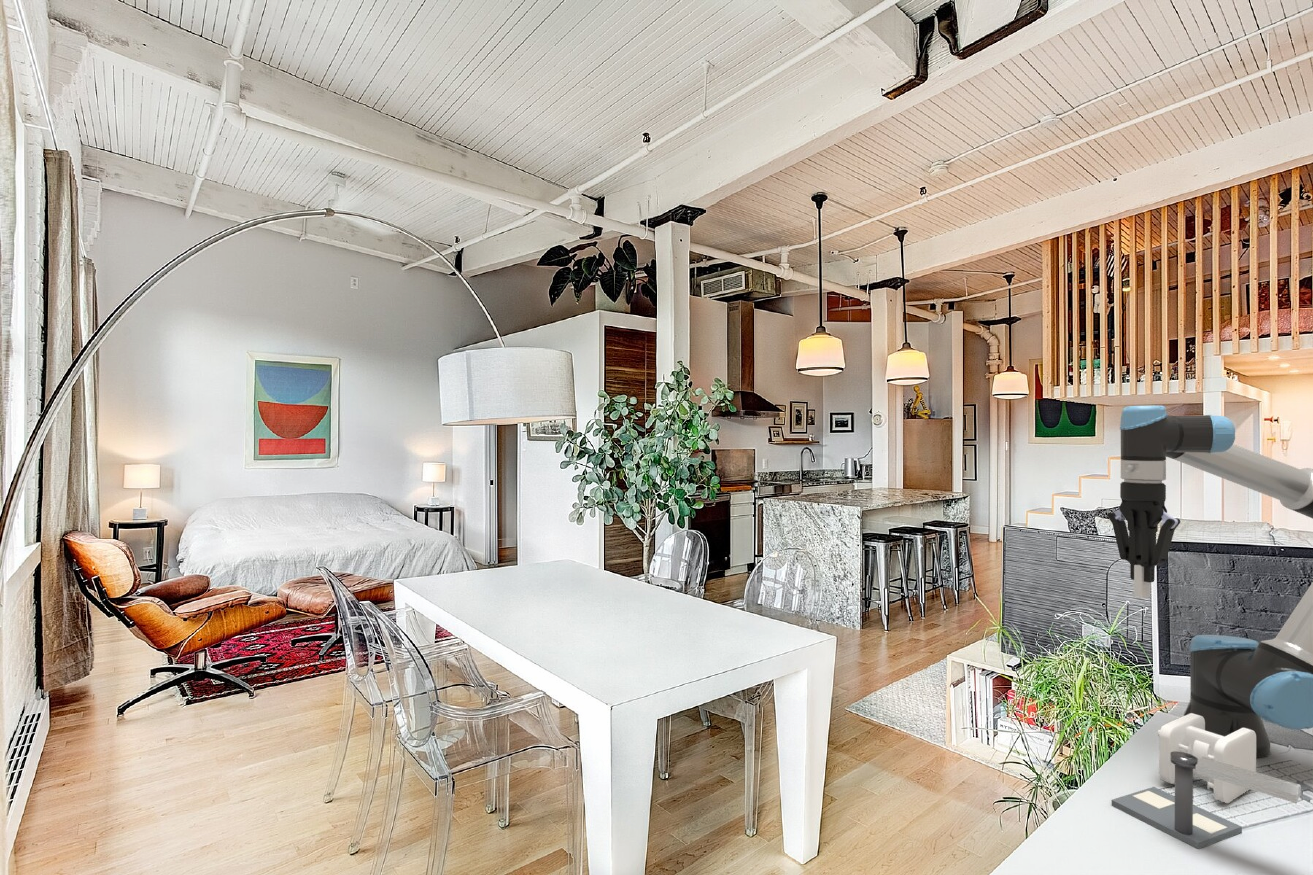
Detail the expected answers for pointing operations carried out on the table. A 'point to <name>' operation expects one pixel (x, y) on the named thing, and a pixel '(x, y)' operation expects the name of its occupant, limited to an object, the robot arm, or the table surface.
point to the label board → (1169, 819)
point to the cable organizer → (1206, 751)
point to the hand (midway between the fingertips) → (1142, 596)
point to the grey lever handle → (1238, 776)
